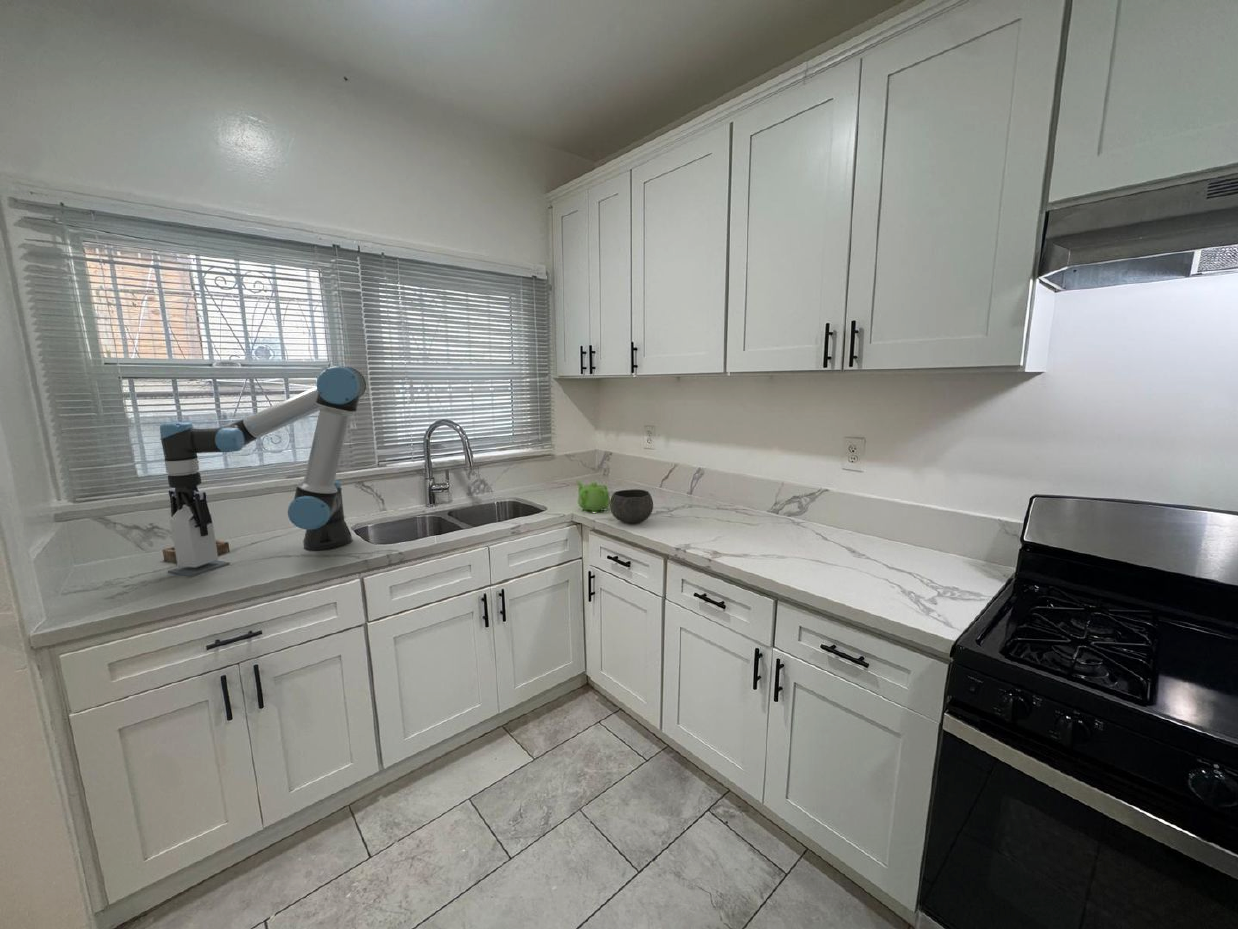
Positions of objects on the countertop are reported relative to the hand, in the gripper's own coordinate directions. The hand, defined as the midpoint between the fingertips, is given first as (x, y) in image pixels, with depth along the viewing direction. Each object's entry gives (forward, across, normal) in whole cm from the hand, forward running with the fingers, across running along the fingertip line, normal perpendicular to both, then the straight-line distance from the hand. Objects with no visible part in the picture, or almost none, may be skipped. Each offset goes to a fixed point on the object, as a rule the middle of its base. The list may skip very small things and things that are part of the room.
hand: (195, 544), depth 153 cm
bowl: (+8, -114, -92) cm, 147 cm away
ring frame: (+8, +13, -7) cm, 17 cm away
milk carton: (+6, 0, 0) cm, 6 cm away
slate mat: (+8, 0, 0) cm, 8 cm away
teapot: (+8, -91, -105) cm, 139 cm away
